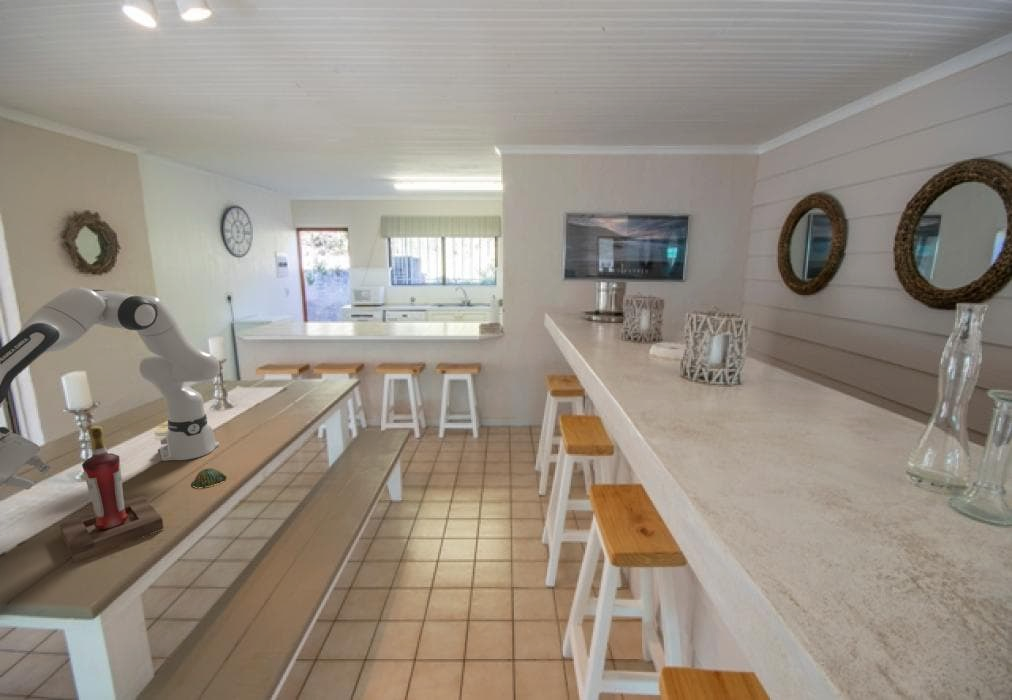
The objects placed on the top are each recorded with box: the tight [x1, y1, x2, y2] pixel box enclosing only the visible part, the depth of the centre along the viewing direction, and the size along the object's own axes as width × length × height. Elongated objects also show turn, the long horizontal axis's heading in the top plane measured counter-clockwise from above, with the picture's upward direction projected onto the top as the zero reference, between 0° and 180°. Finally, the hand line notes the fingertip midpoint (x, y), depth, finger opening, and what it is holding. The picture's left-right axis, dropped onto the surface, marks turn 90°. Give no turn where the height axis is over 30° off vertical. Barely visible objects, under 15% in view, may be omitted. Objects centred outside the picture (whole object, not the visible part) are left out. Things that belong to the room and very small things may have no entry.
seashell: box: [191, 467, 228, 489], centre depth 149 cm, size 10×4×10 cm
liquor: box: [81, 425, 128, 530], centre depth 118 cm, size 7×7×28 cm
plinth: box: [59, 495, 164, 564], centre depth 121 cm, size 18×18×4 cm
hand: (41, 477), depth 112 cm, fingers open, 8 cm apart
